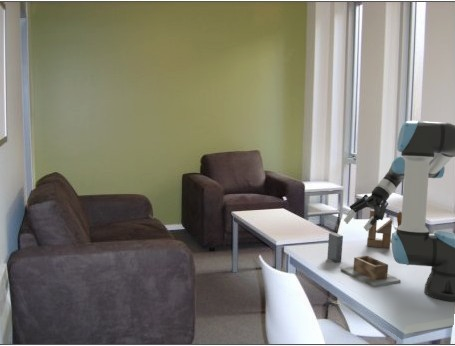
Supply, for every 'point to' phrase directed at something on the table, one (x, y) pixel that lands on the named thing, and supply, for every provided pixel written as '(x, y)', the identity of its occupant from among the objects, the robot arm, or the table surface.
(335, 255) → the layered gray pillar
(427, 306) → the table surface
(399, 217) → the hand bell
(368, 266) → the post slot
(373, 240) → the wooden angular frame
